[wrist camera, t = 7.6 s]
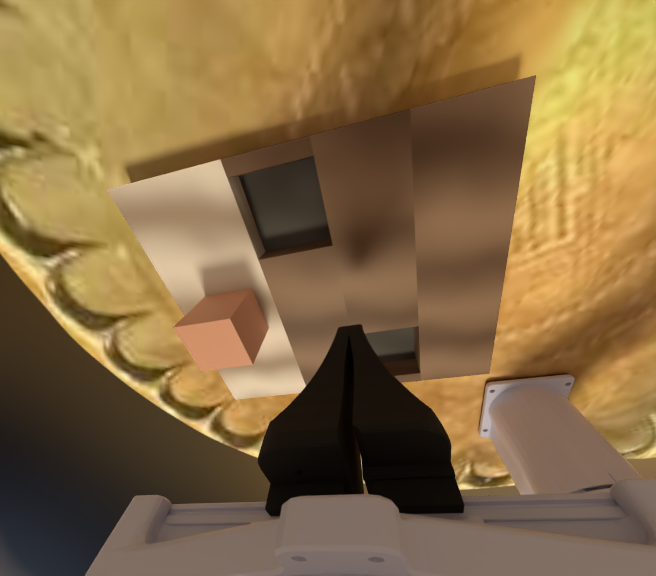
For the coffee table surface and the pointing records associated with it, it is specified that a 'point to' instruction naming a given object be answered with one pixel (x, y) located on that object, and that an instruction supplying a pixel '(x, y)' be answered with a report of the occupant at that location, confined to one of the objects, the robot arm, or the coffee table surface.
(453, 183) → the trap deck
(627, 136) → the coffee table surface
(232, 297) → the block
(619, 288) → the coffee table surface
